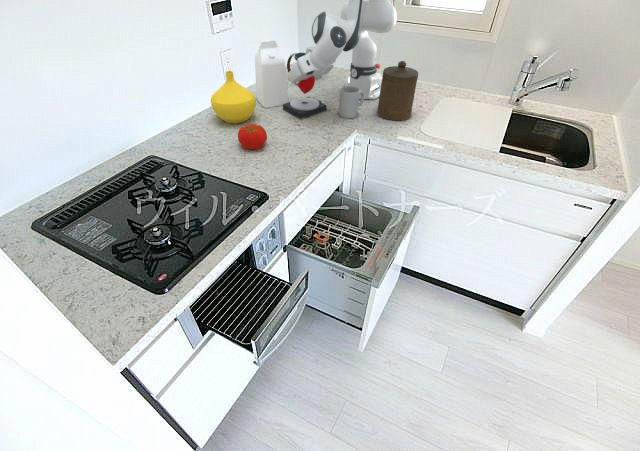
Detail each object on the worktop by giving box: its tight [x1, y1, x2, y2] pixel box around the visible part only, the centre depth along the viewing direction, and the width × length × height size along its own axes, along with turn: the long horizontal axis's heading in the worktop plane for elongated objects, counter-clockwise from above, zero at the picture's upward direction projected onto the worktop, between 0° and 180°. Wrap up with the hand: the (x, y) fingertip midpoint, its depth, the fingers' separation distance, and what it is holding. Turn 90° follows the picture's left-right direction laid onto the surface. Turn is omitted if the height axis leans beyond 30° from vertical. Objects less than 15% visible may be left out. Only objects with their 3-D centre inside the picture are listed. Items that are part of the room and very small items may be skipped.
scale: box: [282, 96, 328, 120], centre depth 152 cm, size 15×13×3 cm
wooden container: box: [377, 60, 419, 121], centre depth 145 cm, size 15×15×22 cm
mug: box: [338, 85, 365, 119], centre depth 148 cm, size 12×8×11 cm
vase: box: [210, 70, 257, 124], centre depth 139 cm, size 18×18×19 cm
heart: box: [296, 76, 316, 95], centre depth 145 cm, size 12×5×10 cm, turn 39°
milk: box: [254, 39, 290, 109], centre depth 151 cm, size 12×12×26 cm
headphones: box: [286, 52, 306, 74], centre depth 173 cm, size 6×15×22 cm
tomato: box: [237, 122, 268, 150], centre depth 125 cm, size 11×11×8 cm
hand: (303, 80), depth 145 cm, fingers closed on heart, 5 cm apart
